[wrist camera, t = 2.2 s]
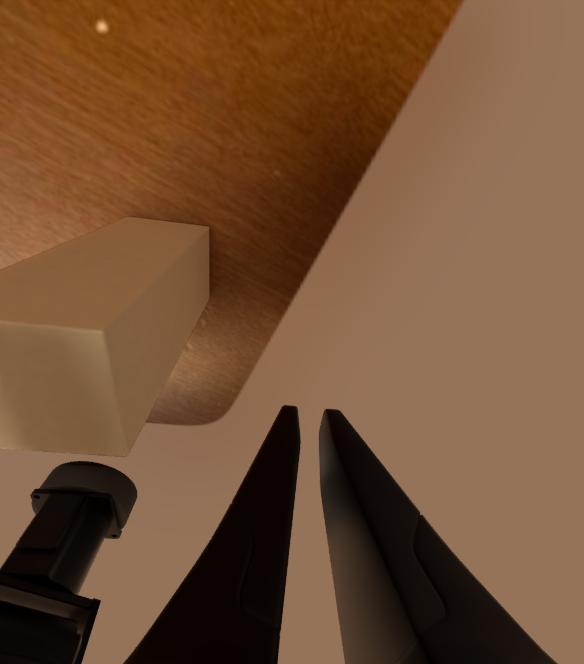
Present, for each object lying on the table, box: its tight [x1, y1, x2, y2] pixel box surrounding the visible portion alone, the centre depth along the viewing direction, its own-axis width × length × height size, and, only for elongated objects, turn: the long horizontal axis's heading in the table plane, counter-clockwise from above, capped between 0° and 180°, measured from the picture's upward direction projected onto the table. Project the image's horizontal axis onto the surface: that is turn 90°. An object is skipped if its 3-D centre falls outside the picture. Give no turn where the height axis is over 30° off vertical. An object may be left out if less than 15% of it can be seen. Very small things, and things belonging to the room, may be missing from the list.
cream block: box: [0, 216, 210, 457], centre depth 14 cm, size 4×4×12 cm
